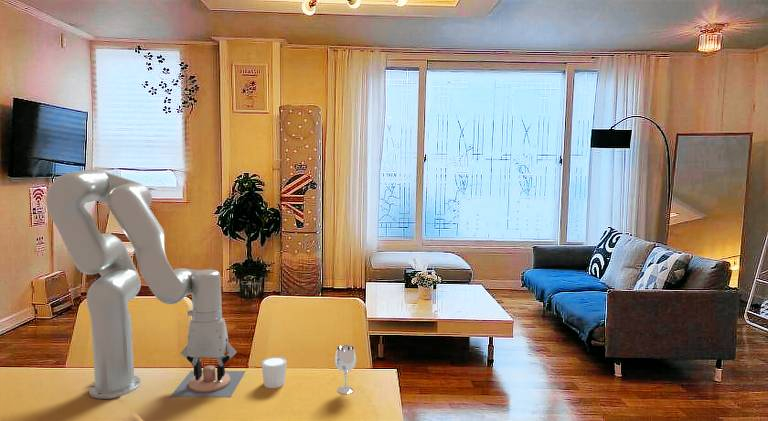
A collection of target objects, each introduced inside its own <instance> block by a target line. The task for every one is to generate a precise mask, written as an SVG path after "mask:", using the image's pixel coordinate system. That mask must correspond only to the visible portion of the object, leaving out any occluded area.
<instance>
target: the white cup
mask: <svg viewBox="0 0 768 421" xmlns="http://www.w3.org/2000/svg"><path fill="white" fill-rule="evenodd" d="M261 368H262V376H263V377H262V378H263V386H264V387H265V388H268V389H279V388H281V387H283V386H284V385H285V384H286V376H287V375H286V374H287V373H286V372H287V359H286V358H284V357H282V356H279V357H278V356H272V357H268V358H265V359H263V360H262V361H261Z"/></svg>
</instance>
